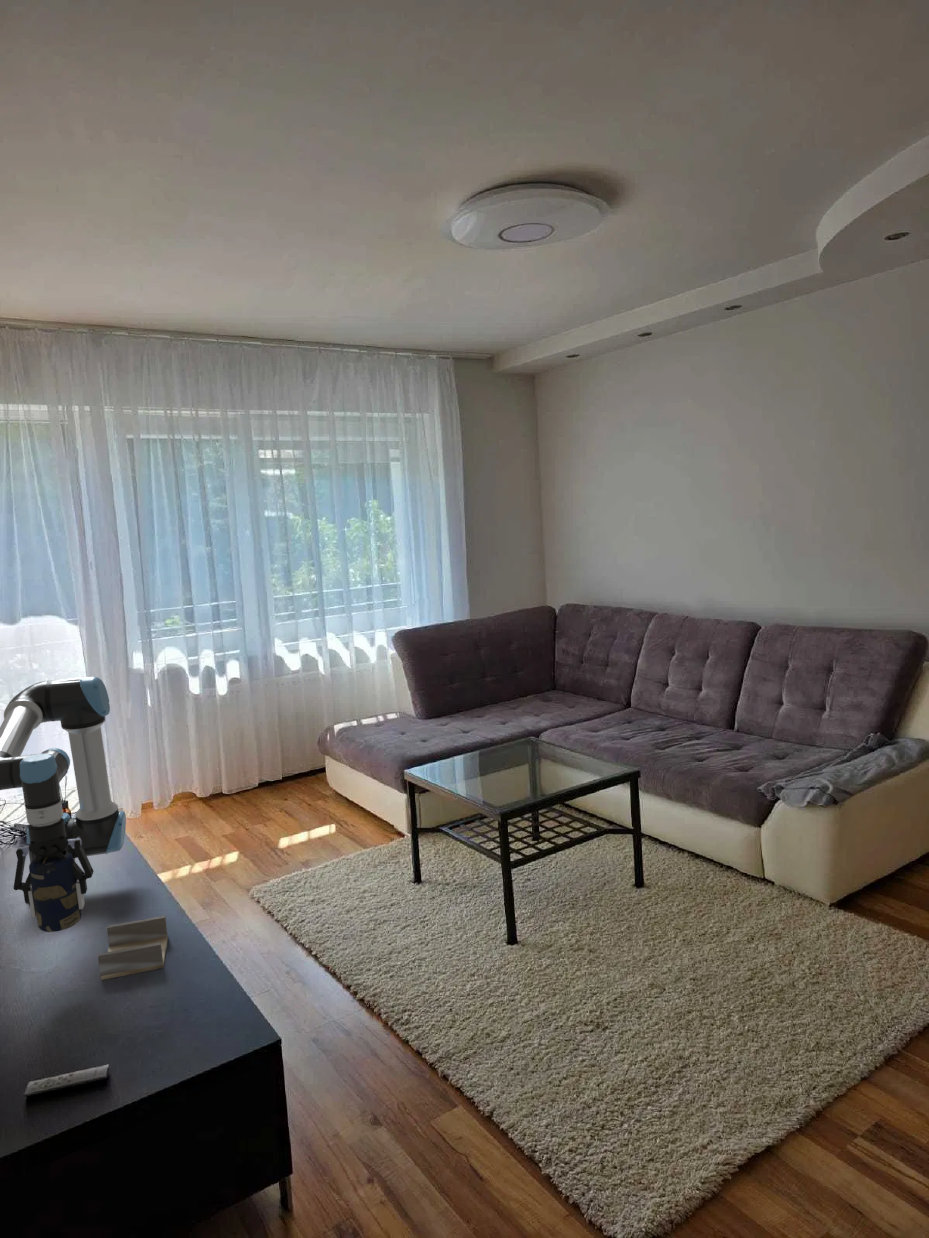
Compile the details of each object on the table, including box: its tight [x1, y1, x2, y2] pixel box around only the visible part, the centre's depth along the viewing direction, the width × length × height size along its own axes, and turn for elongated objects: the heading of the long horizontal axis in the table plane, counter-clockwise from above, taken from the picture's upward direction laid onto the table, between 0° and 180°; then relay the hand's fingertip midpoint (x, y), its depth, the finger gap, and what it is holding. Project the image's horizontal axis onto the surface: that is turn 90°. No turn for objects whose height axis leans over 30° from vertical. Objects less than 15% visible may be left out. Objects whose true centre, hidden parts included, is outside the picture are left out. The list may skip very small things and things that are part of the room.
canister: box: [28, 852, 83, 933], centre depth 195 cm, size 10×10×18 cm
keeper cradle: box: [97, 915, 169, 981], centre depth 205 cm, size 15×14×6 cm
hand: (58, 910), depth 195 cm, fingers closed on canister, 9 cm apart
